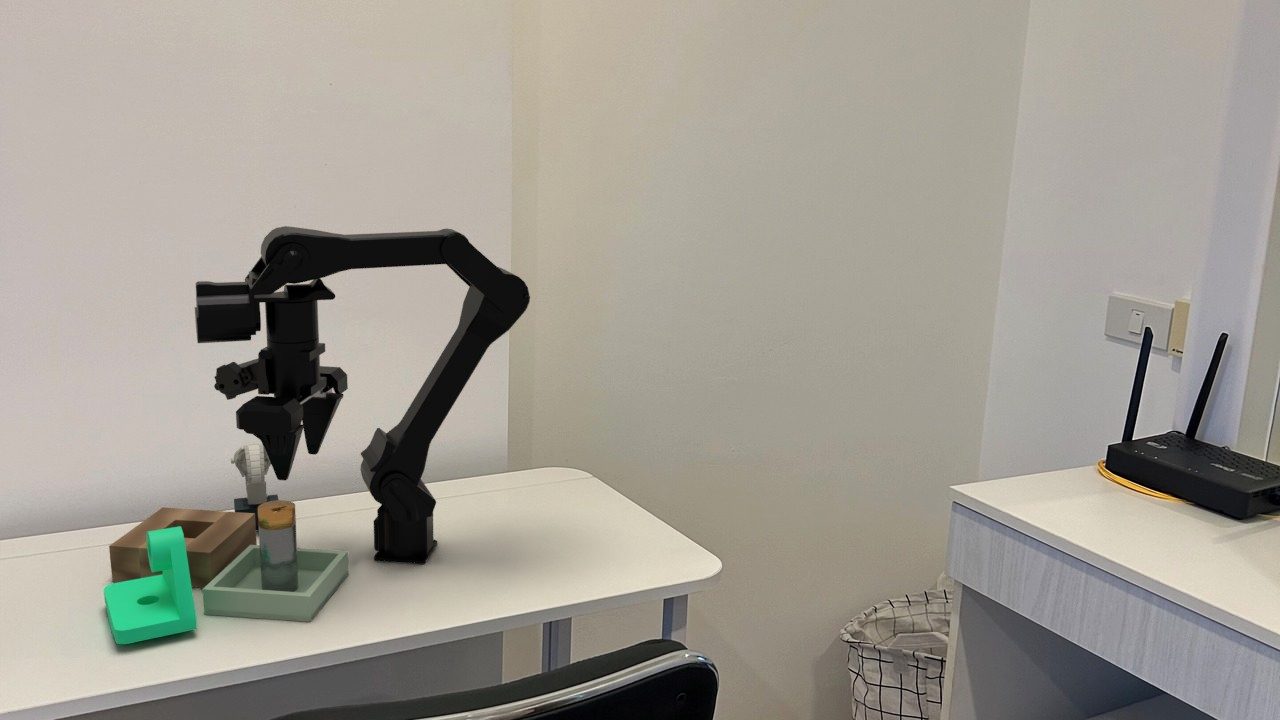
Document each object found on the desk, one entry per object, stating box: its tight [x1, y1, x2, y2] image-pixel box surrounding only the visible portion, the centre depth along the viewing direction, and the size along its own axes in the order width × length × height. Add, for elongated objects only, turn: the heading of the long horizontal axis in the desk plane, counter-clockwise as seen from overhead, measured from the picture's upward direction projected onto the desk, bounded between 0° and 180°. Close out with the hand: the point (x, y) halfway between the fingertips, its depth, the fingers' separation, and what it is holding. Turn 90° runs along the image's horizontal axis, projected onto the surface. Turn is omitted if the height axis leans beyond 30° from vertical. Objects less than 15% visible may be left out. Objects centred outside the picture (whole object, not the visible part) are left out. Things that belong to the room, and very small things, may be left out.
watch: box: [230, 442, 279, 531], centre depth 139 cm, size 6×8×11 cm
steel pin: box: [258, 499, 298, 592], centre depth 120 cm, size 4×4×10 cm
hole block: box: [108, 507, 258, 589], centre depth 128 cm, size 12×12×4 cm
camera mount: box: [103, 526, 198, 645], centre depth 113 cm, size 12×8×10 cm, turn 32°
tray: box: [202, 544, 349, 623], centre depth 121 cm, size 12×12×3 cm
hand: (298, 466), depth 125 cm, fingers open, 9 cm apart
